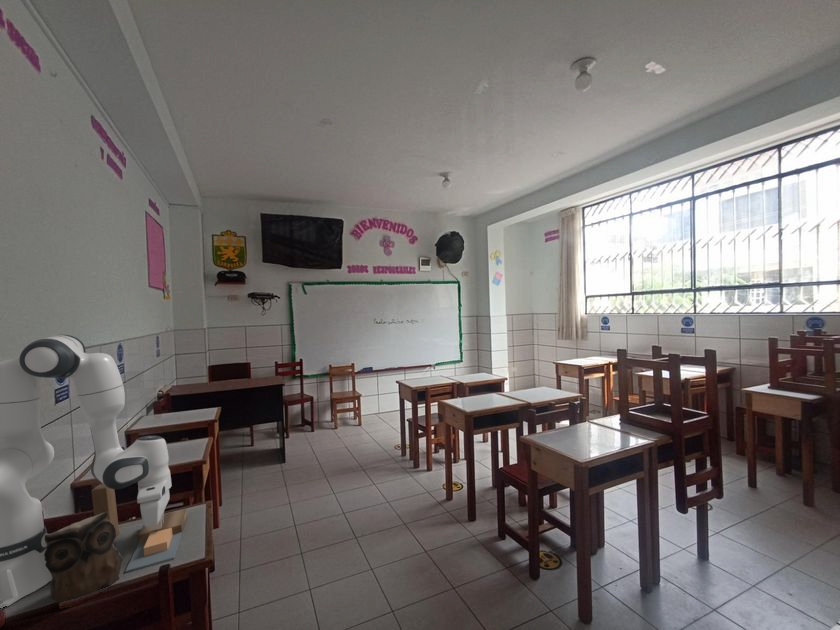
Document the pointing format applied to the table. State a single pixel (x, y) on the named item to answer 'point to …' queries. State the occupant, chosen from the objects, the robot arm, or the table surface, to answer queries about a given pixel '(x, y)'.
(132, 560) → the mat
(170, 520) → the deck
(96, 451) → the robot arm
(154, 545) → the tile
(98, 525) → the owl
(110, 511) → the wooden block
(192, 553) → the table surface
